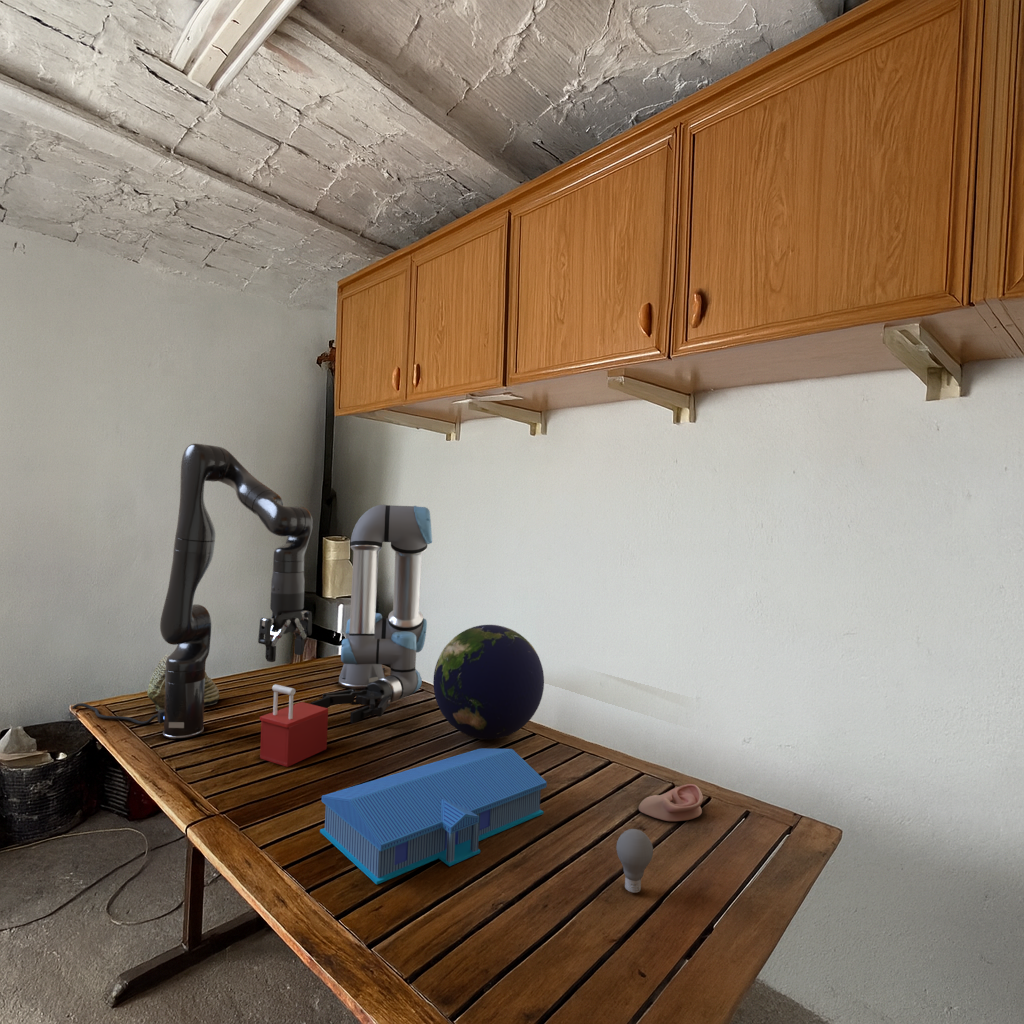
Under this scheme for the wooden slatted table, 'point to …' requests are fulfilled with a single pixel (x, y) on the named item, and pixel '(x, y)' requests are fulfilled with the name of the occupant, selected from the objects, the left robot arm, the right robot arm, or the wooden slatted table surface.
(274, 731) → the chest
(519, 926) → the wooden slatted table surface
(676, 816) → the anatomical model
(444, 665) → the globe
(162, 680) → the fossil
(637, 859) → the light bulb
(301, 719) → the lid
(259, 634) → the left robot arm
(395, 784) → the model building
